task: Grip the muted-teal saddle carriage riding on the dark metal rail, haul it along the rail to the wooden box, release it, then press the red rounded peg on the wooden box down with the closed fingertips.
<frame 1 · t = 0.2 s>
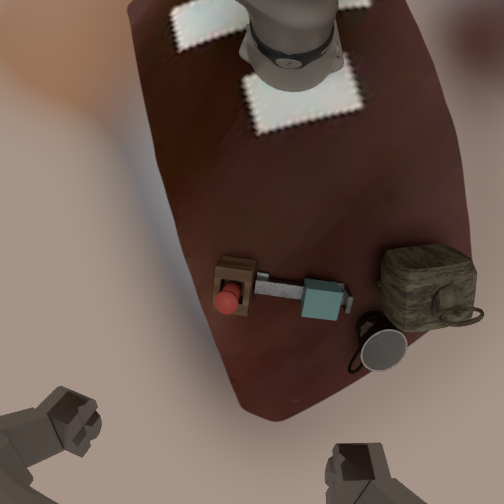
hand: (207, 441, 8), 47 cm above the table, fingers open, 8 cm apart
tabletop clock: (404, 264, 53), on the table
rail: (299, 287, 56), on the table
red rounded peg: (229, 296, 49), point 9 cm above the table, slide at 0.0 cm
wooden box: (238, 278, 57), on the table
coffee mug: (364, 328, 57), on the table
carriage: (320, 298, 52), point 4 cm above the table, slide at 0.0 cm
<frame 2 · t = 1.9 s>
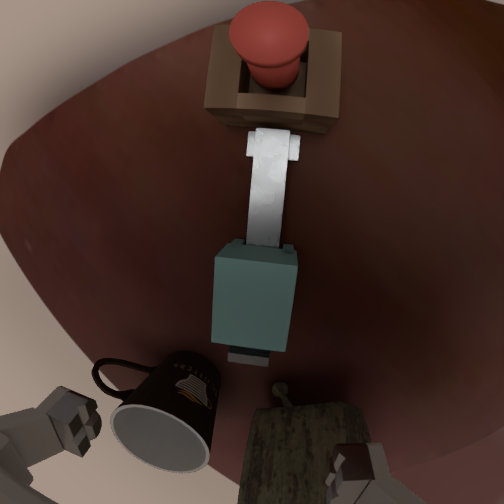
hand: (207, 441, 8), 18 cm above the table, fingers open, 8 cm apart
tabletop clock: (310, 416, 30), on the table
rail: (265, 232, 25), on the table
red rounded peg: (272, 52, 14), point 9 cm above the table, slide at 0.0 cm
wooden box: (278, 94, 23), on the table
coffee mug: (183, 364, 30), on the table
carriage: (256, 290, 22), point 4 cm above the table, slide at 0.0 cm
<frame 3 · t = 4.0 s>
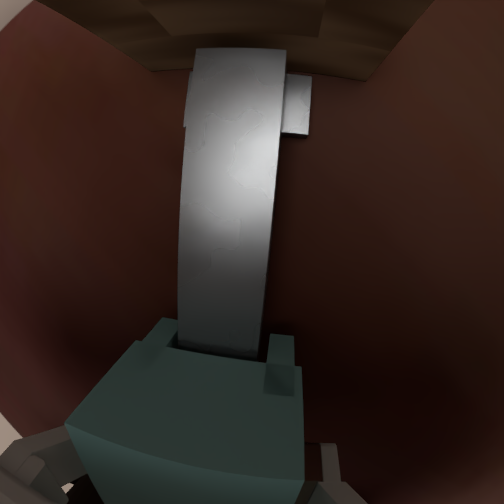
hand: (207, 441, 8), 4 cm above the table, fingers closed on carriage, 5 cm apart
rail: (234, 297, 12), on the table
wooden box: (260, 4, 9), on the table
coffee mug: (124, 467, 16), on the table
carriage: (205, 447, 8), point 4 cm above the table, slide at 0.0 cm, touching gripper
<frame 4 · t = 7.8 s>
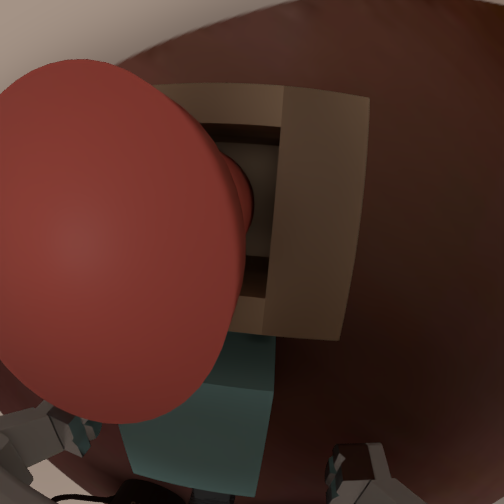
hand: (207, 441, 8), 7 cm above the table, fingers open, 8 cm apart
rail: (220, 397, 16), on the table
red rounded peg: (153, 219, 5), point 9 cm above the table, slide at 0.0 cm
wooden box: (231, 193, 14), on the table
coffee mug: (144, 487, 21), on the table
carriage: (204, 394, 11), point 4 cm above the table, slide at 7.4 cm
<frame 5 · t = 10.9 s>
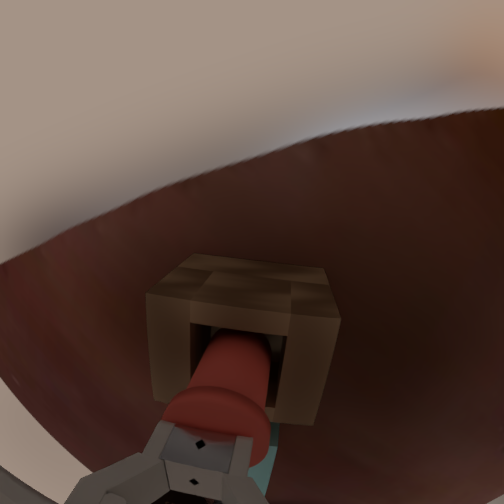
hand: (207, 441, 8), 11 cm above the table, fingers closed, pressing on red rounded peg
red rounded peg: (228, 389, 11), point 8 cm above the table, slide at 0.6 cm, touching gripper
wooden box: (253, 306, 19), on the table
coffee mug: (173, 490, 27), on the table
carriage: (234, 437, 17), point 4 cm above the table, slide at 7.4 cm
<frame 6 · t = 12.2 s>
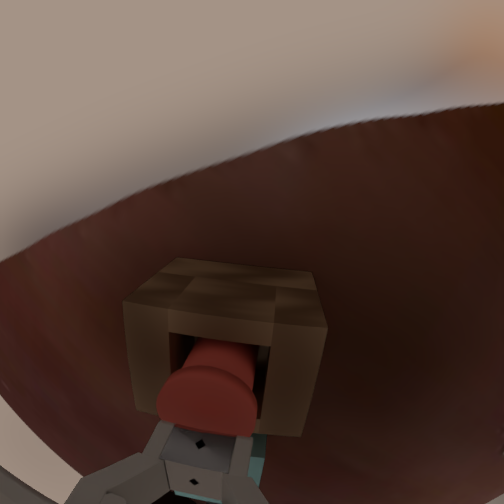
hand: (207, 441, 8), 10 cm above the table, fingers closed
red rounded peg: (219, 372, 12), point 6 cm above the table, slide at 2.6 cm
wooden box: (239, 311, 19), on the table
coffee mug: (165, 495, 26), on the table
carriage: (222, 446, 16), point 4 cm above the table, slide at 7.4 cm
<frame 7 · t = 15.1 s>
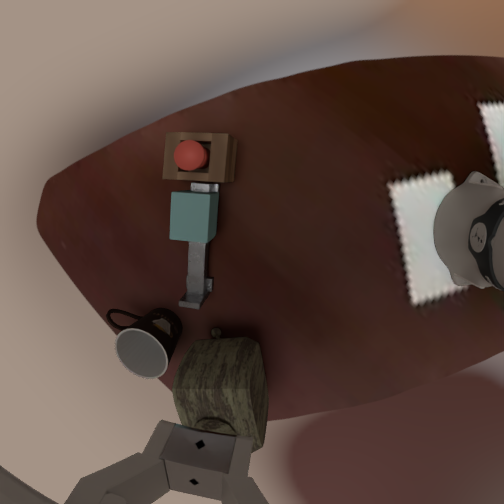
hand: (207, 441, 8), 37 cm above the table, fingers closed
tabletop clock: (239, 355, 50), on the table
rail: (202, 237, 46), on the table
red rounded peg: (195, 156, 37), point 6 cm above the table, slide at 2.6 cm
wooden box: (208, 159, 43), on the table
coffee mug: (160, 317, 50), on the table
carriage: (195, 214, 40), point 4 cm above the table, slide at 7.4 cm
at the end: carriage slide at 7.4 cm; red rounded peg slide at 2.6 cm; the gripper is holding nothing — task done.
